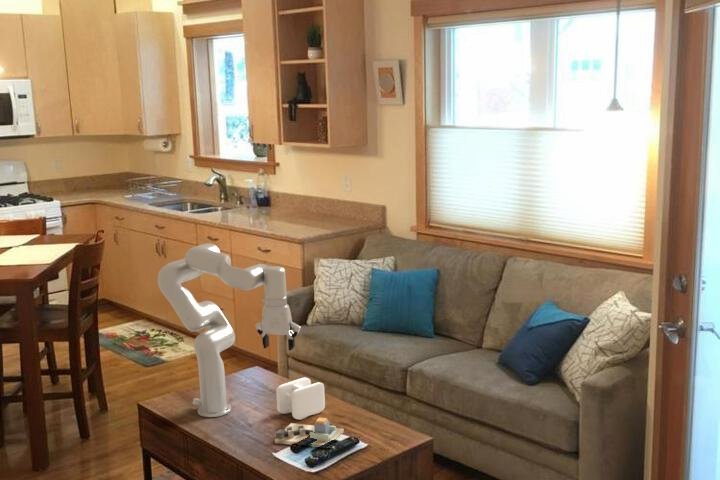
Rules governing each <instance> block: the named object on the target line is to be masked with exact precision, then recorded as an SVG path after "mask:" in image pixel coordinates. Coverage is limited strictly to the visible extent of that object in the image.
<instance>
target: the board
mask: <svg viewBox="0 0 720 480" xmlns="http://www.w3.org/2000/svg"><path fill="white" fill-rule="evenodd" d="M310 432H313V433H314V432H315V428H314V424H302V423H292V422H290V424H289V425H287V426H286V427H285V429H278V430H277V431H276V432H275V439H274V443H275V444H282V445H289V446H293V445H292V444H294V443H297V442H299V441H301V440H303V439H305V438H307V437H308V436H309V435H310ZM341 434H342V435H343V434H344V428H340V427H336V434H335V436H334V437H333V438H332V439H331V440H334V439H337V438H338V437H339V436H340V435H341ZM330 435H331V432H330ZM330 435H329V436H330ZM342 435H341V436H342ZM341 436H340V437H341ZM340 437H339V438H340ZM339 438H338V439H339ZM331 440H329V441H331ZM329 441H322V440H317V441H315V442H313V443H311V444H312V445H314V446H321V445H324V444H325V443H327V442H329Z"/></svg>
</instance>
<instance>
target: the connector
mask: <svg viewBox="0 0 720 480" xmlns="http://www.w3.org/2000/svg"><path fill="white" fill-rule="evenodd" d="M313 426H314V428H315V433H323V434H329V435H330V420H328V418H326V417H318V418H317V419H316V420H315V423H314V424H313Z"/></svg>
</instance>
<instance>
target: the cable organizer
mask: <svg viewBox="0 0 720 480" xmlns="http://www.w3.org/2000/svg"><path fill="white" fill-rule="evenodd" d="M275 392H276V393H275V394H276V411H277V412H278V413H279V414H282V415H283V414H285V415H286V414H290V413H291V415H292V417H293V419H296V420H300V421H301V420H304V419H306V418H308V417H310V416H312V415H317V414H319V413H321V412H323V411H324V409H325V407H326V399H325V397H326V396H325V385H324V383H323V382H315V383H312V381H311V379H310V378H308V377H306V376H305V377H301V378H297V379H294V380H292V381H291V380H290V381H289V382H286V383H283V384H280V385H278V386H277V388H276V389H275Z"/></svg>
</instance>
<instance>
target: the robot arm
mask: <svg viewBox="0 0 720 480" xmlns="http://www.w3.org/2000/svg"><path fill="white" fill-rule="evenodd" d="M204 273H205V274H208V275H212V276H215V277H217V278H219V279H220V280H221V281H222V283H224V284H225V285H227V286H229V287H231V288H234V289H238V290H242V291H252V290H253V289H256V288H258V287H261V286H264V297H262V299H261V301H262V302H264V305H263V307H262V314H261V315H262V317H261V321H259V322H257V323H256V324H254V327H255V329H256V331H257V333H258V335H260V337H261V339H262V341H261V342H262V346H263V349H267V348H268V347H270V339H269V338H270V337H269V335H277V336H278V335H279V336H280V335H281V336H285V335H286V336H287V337H288V338H289V339H288V340H287V344H288V351H292V350H294V348H295V346H296V345H295V338H296V337H297V335H299V333H300V330H301V328H302V327H301V325H299V324H297V323H296V322H293V318H292V312H291V308H290V305H289V304H288V296H287V278H286V269H285V268H284V267H282V266H280V265H279V266H278V265H277V266H275V265H273V266H271V265H268V264H264V263H257V264H255V265H251V266H248V267H246V268H241V267H236V266H233V265H232V259H231V257H230V256H229V255H228V254H227V253H226V254H225V253H222V252H221V250H220V249H219V247H218V246H217V245H216V244H214V243H210V242H207V243H202V244H200V245H196V246H193V247H191V248H189V249H188V250H187V251H186V253H185V256H184V258H181V259H178V260H174V261H172V262H168V263H167V264H166V265H164V266H163V267H161V269H160V270H159V272H158V275H157V285H158V288H159V290H160V291H161V293H162V295H163V296H164V298H165V299H166V300H167V301H168V303H170V305H171V306H172V308H173V310H174V312H175V313H176V314H177V317H178V318H179V320H180V321H181V322H182V325H184V327H185V328H186V329H187V331H189V332H192V333H194V332H198V331H200V330H203V329H205V328H207V330H204V331H202V332H201V333H199V334H198V335H197V336H196V337H195V339H194V342H193V350H194V352H195V356H196V361H197V368H198V369H197V370H198V378H199V379H198V380H199V382H198V383H199V392H200V398H198V397H197V398H196V397H194V398H193V399H192V406H198V408H197V409H196V410H197V414H198V415H199V416H201V417H203V418H204V417H205V418H218V417H223V416H225V415H227V414H229V413H230V412H231V411H232V405H231V404H230V403H228V401H227V388H226V386H227V385H226V376H225V375H226V372H225V365H224V361H223V359H222V357H221V352H223V351H225V350H227V349H229V348H231V347H232V346H233V344H234V343H235V340H236V333H235V331H234V328H233V327H232V325H231V324H230V323H229V321H228V319H227V318H226V316H225V315H224V312H222V310H221V309H220V307H219V306H218V305H217V304H216V303H215V302H213V301H211V300H205V301H201V302H198V300H197V299H196V298H195V297H194V295H193V293H191V291H190V290H189V289H188V288H186V287H185V286H183V285H182V284H183V283H186V282H189V281H192V280H194V279H196V278H198V277H200V276H202V274H204ZM293 328H294V329H295V330H294V332H293Z"/></svg>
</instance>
